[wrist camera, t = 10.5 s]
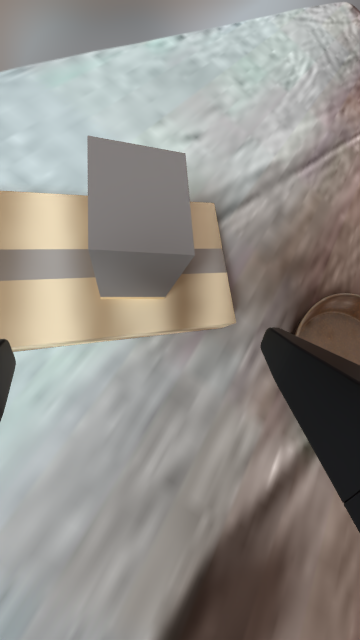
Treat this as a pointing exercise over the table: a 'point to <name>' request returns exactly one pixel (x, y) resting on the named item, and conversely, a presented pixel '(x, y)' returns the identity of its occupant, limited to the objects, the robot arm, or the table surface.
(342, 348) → the plant saucer
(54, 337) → the birch board
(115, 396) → the table surface
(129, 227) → the block
